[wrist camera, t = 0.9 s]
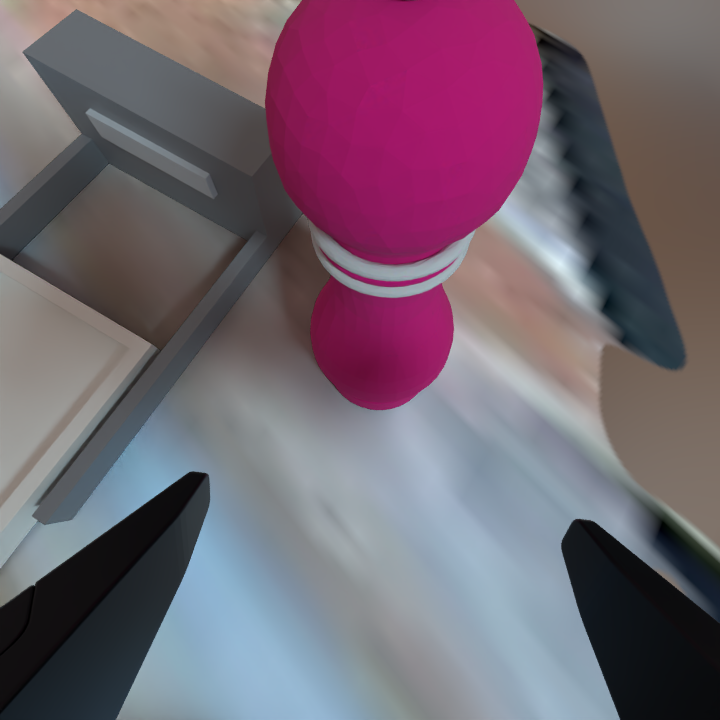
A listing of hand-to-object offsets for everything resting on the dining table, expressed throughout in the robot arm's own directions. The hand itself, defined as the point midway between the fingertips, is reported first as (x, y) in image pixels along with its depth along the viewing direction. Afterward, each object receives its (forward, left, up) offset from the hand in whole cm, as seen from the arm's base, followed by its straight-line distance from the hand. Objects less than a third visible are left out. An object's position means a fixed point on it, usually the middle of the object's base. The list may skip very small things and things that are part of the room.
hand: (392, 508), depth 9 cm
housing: (+3, +19, -13) cm, 24 cm away
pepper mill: (+7, +2, -13) cm, 15 cm away
